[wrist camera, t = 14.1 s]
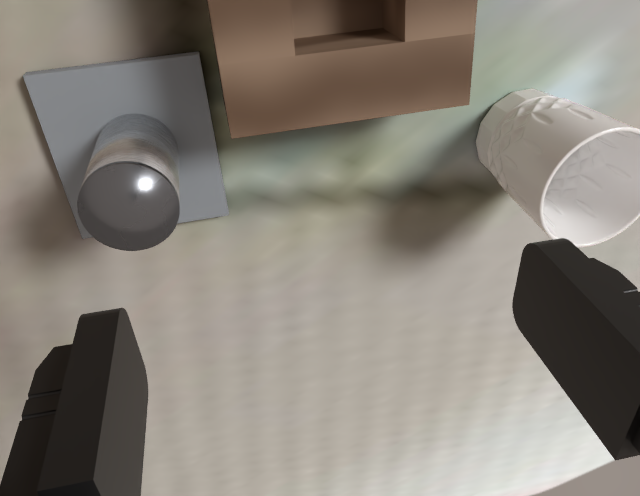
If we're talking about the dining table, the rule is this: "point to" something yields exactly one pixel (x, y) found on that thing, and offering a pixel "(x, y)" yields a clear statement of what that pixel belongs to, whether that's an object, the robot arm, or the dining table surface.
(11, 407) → the dining table surface
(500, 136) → the white cup
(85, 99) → the mat
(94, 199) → the shiny metal cylinder
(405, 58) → the housing
